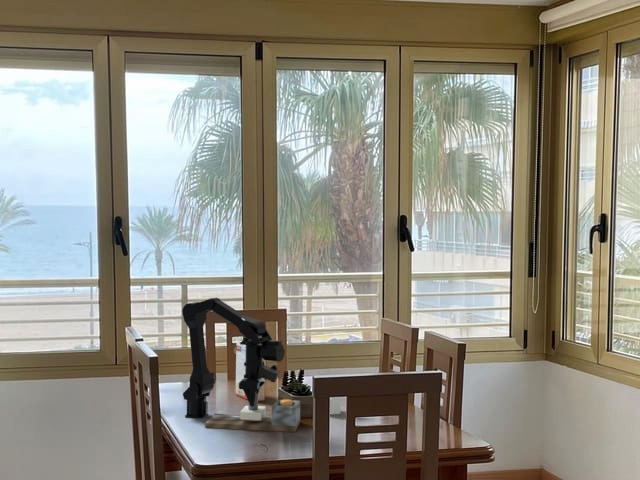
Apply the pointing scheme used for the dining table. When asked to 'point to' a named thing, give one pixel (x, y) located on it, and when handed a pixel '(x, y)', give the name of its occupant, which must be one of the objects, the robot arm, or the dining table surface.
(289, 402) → the button
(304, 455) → the dining table surface
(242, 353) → the cracker box
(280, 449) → the dining table surface
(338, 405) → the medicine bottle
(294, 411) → the rail board
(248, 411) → the carriage
